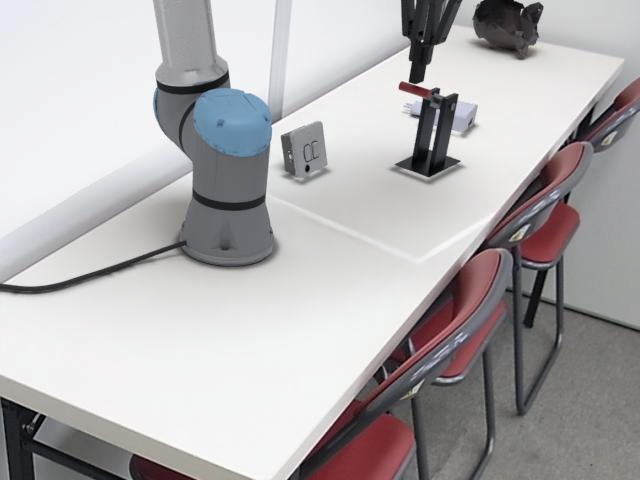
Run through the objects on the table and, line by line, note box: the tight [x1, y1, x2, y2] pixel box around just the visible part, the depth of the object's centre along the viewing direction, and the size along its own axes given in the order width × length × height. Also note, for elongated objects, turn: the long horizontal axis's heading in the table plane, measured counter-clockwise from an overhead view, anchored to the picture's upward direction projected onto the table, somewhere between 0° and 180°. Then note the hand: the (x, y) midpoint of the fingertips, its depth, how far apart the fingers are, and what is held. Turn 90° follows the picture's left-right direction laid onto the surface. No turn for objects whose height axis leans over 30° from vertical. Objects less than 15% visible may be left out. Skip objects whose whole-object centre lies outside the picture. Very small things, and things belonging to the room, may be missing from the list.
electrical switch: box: [280, 120, 328, 179], centre depth 171 cm, size 9×5×9 cm, turn 141°
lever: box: [398, 80, 445, 110], centre depth 167 cm, size 13×6×2 cm, turn 139°
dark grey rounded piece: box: [471, 0, 545, 57], centre depth 245 cm, size 14×15×20 cm
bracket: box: [394, 86, 462, 178], centre depth 175 cm, size 12×8×15 cm, turn 139°
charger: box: [402, 100, 479, 133], centre depth 198 cm, size 5×9×15 cm
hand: (416, 81), depth 161 cm, fingers closed
